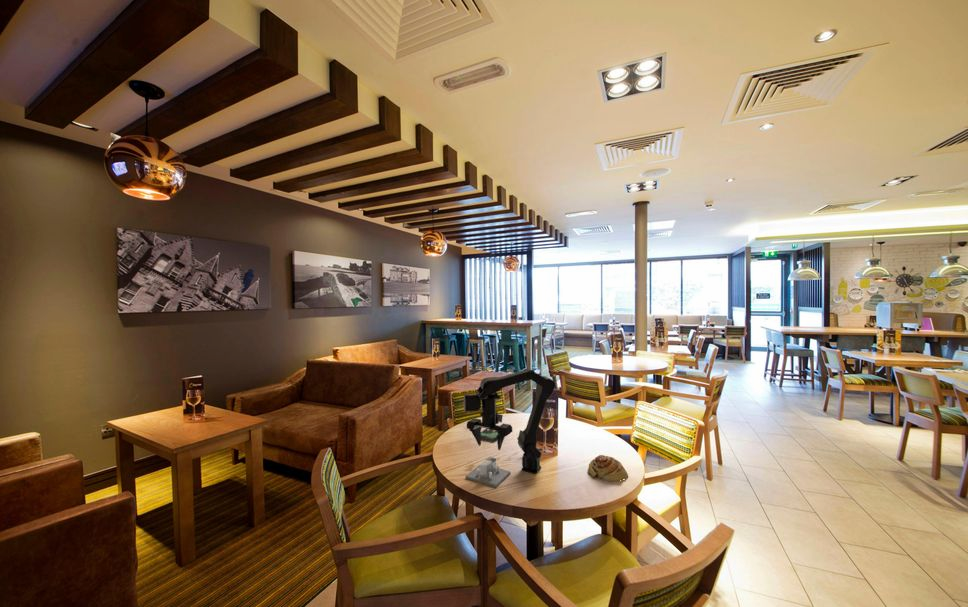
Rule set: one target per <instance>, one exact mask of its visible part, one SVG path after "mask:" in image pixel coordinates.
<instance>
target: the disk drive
mask: <svg viewBox="0 0 968 607" xmlns="http://www.w3.org/2000/svg"><path fill="white" fill-rule="evenodd" d="M497 435H498V433H497V430H492V429H486V428H484V429H483V430H481V440H482V439H483V441H488V442H491V441H492V443H495V442H497Z"/></svg>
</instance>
